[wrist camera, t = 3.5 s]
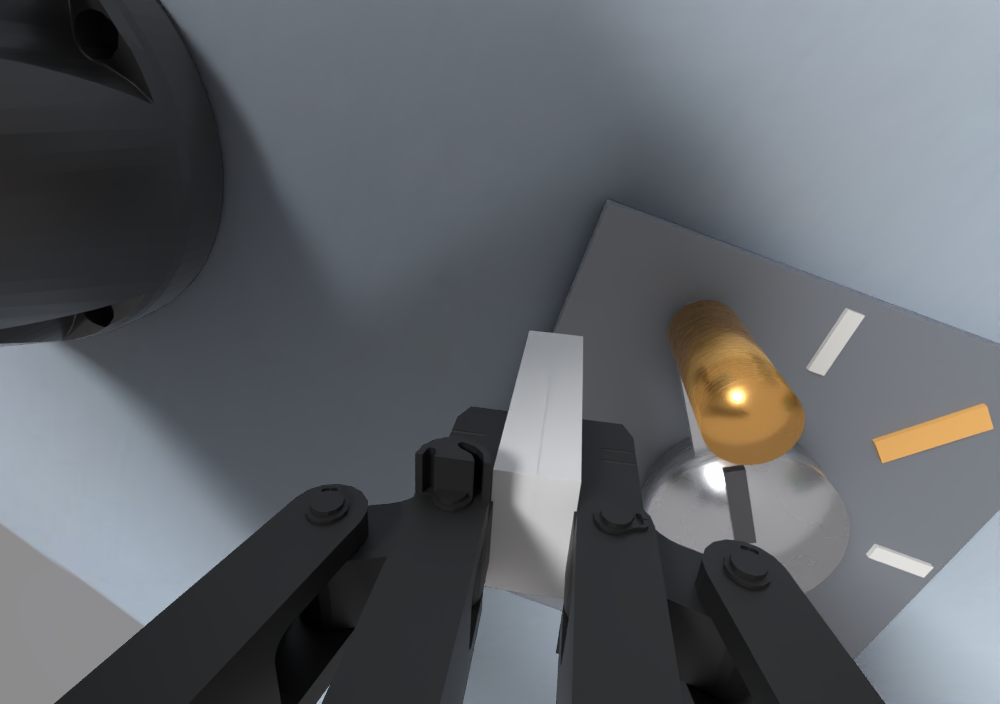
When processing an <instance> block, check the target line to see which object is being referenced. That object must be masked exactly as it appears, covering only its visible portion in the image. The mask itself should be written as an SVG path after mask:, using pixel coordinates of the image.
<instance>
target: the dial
mask: <svg viewBox="0 0 1000 704" xmlns="http://www.w3.org/2000/svg"><path fill="white" fill-rule="evenodd" d="M667 337H668V343H669V346H670V349H671V351H672V354H673V357H674V360H675V362H676V366H677V372H678V377H679V382H680V388H681V393H682V398H683V404H684V409H685V414H686V420H687V425H688V430H689V437H687V438H685V439H683V440H681V441H680V442H678V443H676V444H675V445H673V446H672V447H670V448H669V449H668V450H667V451H665V452H664V453H663V454H662V455H661V456H660V457H659V458H658V459H657V460H656V461H655V463H654V464H653V465H652V467H651V468H650V469H649V471H648V473H647V475H646V477H645V479H644V482H643V485H642V488H641V494H642V501H643V508H644V510H645V511H646V512H647V513H648V514H649V515H650V516H651V519H652V521H653V523H654V525H655V529H656V530H657V531H658V532H659V533H660V534H662V535H663V536H665V537H666V538H668V539H669V540H671V541H673V542H676V543H678V544H680V545H682V546H685V547H687V548H690V549H692V550H695V551H698V552H700V553H704V550H705V548H706V547H707V546H709V545H710V544H711V543H713V542H715V541H720V540H725V539H728V540H737V541H743V542H746V543H749V544H752V545H754V546H757V547H760V548H761V549H763V550H764V551H766V552H768V553H769V554H771V555H772V556H774V557H775V558H776V559H777V560H778V561H779V562H780V563H781V564H782V565H783V566H784V567H785V568H786V569H787V571H788V572H789V573H790V575H791V576H792V577H793V579H794V580H795V581H796V583H797V584H798V586H799V587H800V588H801V590H802V591H803V592H804V593H806V592H808V591H810V590H811V589H813V588H814V587H816V586H817V585H819V584H820V583H821V582H823V581H824V580H825V579H826V578H827V577H828V576H829V575H830V574H831V573H832V572H833V571H834V569H835V568H836V567H837V566H838V564H839V563H840V561H841V559H842V558H843V556H844V554H845V551H846V549H847V546H848V541H849V537H850V523H849V517H848V513H847V510H846V507H845V505H844V503H843V501H842V500H841V498H840V496H839V495H838V493H837V492H836V490H835V489H834V487H833V486H832V484H831V483H830V481H829V479H828V478H827V476H826V475H825V473H824V472H823V470H822V469H821V467H820V466H819V464H818V463H817V461H816V460H815V459H814V458H813V456H812V455H811V454H810V453H809V452H808V451H807V450H806V449H805V448H803V447H802V446H801V445H800V444H798V443H797V441H798V440H799V438H800V436H801V434H802V432H803V429H804V424H805V414H804V409H803V407H802V404H801V403H800V401H799V399H798V398H797V397H796V395H795V394H794V392H793V391H792V390H791V388H790V387H789V386H788V384H787V383H786V382H785V380H784V379H783V377H782V376H781V375H780V373H779V372H778V371H777V369H776V368H775V367H774V365H773V364H772V362H771V361H770V360H769V358H768V357H767V356H766V354H765V353H764V352H763V350H762V349H761V347H760V346H759V345H758V343H757V342H756V341H755V339H754V338H753V337H752V335H751V334H750V332H749V331H748V330H747V328H746V327H745V326H744V324H743V323H742V322H741V320H740V319H739V317H738V316H737V315H736V313H735V312H734V311H733V310H732V309H731V308H730V307H729V306H727V305H726V304H724V303H721V302H719V301H714V300H700V301H696V302H693V303H690V304H688V305H686V306H684V307H683V308H682V309H680V310H679V311H678V312H677V313H676V314H675V315H674V317H673V318H672V320H671V322H670V324H669V327H668V334H667Z"/></svg>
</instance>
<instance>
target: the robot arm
mask: <svg viewBox="0 0 1000 704" xmlns="http://www.w3.org/2000/svg"><path fill="white" fill-rule="evenodd" d="M222 197H223V169H222V157H221V150H220V143H219V138H218V133H217V128H216V124H215V120H214V116H213V113H212V109H211V106H210V103H209V100H208V97H207V94H206V91H205V88H204V86H203V83H202V81H201V78H200V76H199V73H198V71H197V69H196V67H195V65H194V62H193V60H192V58H191V56H190V54H189V52H188V50H187V48H186V47H185V45H184V43H183V41H182V39H181V37H180V36H179V34H178V32H177V31H176V29H175V27H174V26H173V24H172V23H171V21H170V19H169V18H168V17H167V15H166V14H165V12H164V11H163V9H162V8H161V6H160V5H159V3H158V2H157V1H156V0H0V347H1V346H12V345H22V344H33V343H43V342H54V341H64V340H73V339H81V338H86V337H91V336H95V335H99V334H102V333H106V332H109V331H112V330H115V329H117V328H119V327H122V326H124V325H126V324H128V323H130V322H132V321H135V320H137V319H139V318H141V317H143V316H145V315H147V314H149V313H151V312H154V311H156V310H157V309H159V308H161V307H163V306H165V305H166V304H168V303H169V302H171V301H172V300H174V299H175V298H176V297H177V296H178V295H180V294H181V293H182V292H183V291H184V290H185V289H186V288H187V287H188V286H189V285H190V284H191V282H192V281H193V280H194V279H195V277H196V276H197V275H198V273H199V271H200V270H201V268H202V267H203V265H204V263H205V261H206V259H207V257H208V255H209V253H210V251H211V248H212V246H213V243H214V240H215V237H216V234H217V230H218V225H219V221H220V215H221V208H222ZM582 388H583V336H576V335H567V334H558V333H549V332H540V331H531V330H529V334H528V338H527V342H526V345H525V349H524V353H523V357H522V361H521V365H520V368H519V372H518V376H517V380H516V384H515V388H514V392H513V395H512V399H511V403H510V407H509V411H502V410H494V409H486V408H478V407H470V408H469V409H467V410H466V411H465V412H463V413H462V414H461V415H459V416H458V418H457V420H456V422H455V425H454V427H453V430H452V432H451V434H450V437H446V438H441V439H436V440H433V441H431V442H429V443H427V444H425V445H423V446H422V447H421V448H420V449H419V450H418V451H417V452H416V453H415V495H414V497H413V498H411V499H408V500H405V501H402V502H397V503H391V504H381V505H369V506H368V500H367V499H366V497H365V496H364V495H363V493H362V492H361V491H359V490H357V489H355V488H353V487H352V486H346V485H340V484H333V485H322V486H319V487H316V488H313V489H310V490H307V491H306V492H304V493H303V494H301V495H299V496H298V497H296V498H295V499H294V500H293V501H291V502H290V503H289V504H288V505H287V506H286V507H284V508H283V509H282V510H281V511H280V512H279V513H277V514H276V515H275V516H274V517H273V518H272V519H270V520H269V521H268V522H267V523H266V524H264V525H263V526H262V527H261V528H260V529H259V530H257V531H256V532H255V533H254V534H253V535H252V536H250V537H249V538H248V539H247V540H246V541H245V542H243V543H242V544H241V545H240V546H239V547H237V548H236V549H235V550H234V551H233V552H232V553H230V554H229V555H228V556H227V557H226V558H225V559H223V560H222V561H221V562H220V563H219V564H218V565H216V566H215V567H214V568H213V569H212V570H210V571H209V572H208V573H207V574H206V575H205V576H203V577H202V578H201V579H200V580H199V581H198V582H196V583H195V584H194V585H193V586H192V587H190V588H189V589H188V590H187V591H186V592H185V593H183V594H182V595H181V596H180V597H179V598H178V599H176V600H175V601H174V602H173V603H172V604H171V605H169V606H168V607H167V608H166V609H165V610H163V611H162V612H161V613H160V614H159V615H158V616H156V617H155V618H154V619H153V620H152V621H151V622H149V623H148V624H147V625H146V626H145V627H144V628H142V629H141V630H140V631H139V632H138V633H136V634H135V635H134V636H133V637H132V638H131V639H129V640H128V641H127V642H126V643H125V644H124V645H122V646H121V647H120V648H119V649H118V650H117V651H115V652H114V653H113V654H112V655H111V656H110V657H109V658H107V659H106V660H105V661H104V662H103V663H101V664H100V665H99V666H98V667H97V668H95V669H94V670H93V671H92V672H91V673H90V674H88V675H87V676H86V677H85V678H84V679H82V681H80V682H79V683H78V684H77V685H76V686H74V687H73V688H72V689H71V690H70V691H68V692H67V693H66V694H65V695H64V696H63V697H61V698H60V699H59V700H58V701H57V702H56V703H54V704H316V703H317V702H318V700H319V699H320V697H321V696H322V695H323V693H324V692H325V691H326V689H327V688H328V686H329V685H330V686H329V688H328V691H327V693H326V695H325V697H324V700H323V702H322V704H462V703H463V699H464V694H465V689H466V684H467V679H468V674H469V669H470V665H471V660H472V655H473V650H474V645H475V640H476V636H477V631H478V626H479V621H480V616H481V611H482V597H483V588H484V584H485V587H489V588H496V589H502V590H508V591H514V592H520V593H526V594H533V595H539V596H545V597H551V598H557V599H564V604H563V610H562V617H561V624H560V630H559V637H558V643H557V650H556V653H557V654H559V660H558V679H557V697H556V704H885V703H884V701H883V700H882V699H881V697H880V696H879V695H878V693H877V692H876V690H875V689H874V688H873V686H872V685H871V684H870V682H869V681H868V680H867V678H866V677H865V675H864V674H863V673H862V671H861V670H860V669H859V667H858V666H857V665H856V663H855V662H854V660H853V659H852V658H851V656H850V655H849V654H848V652H847V651H846V650H845V648H844V647H843V645H842V644H841V643H840V641H839V640H838V639H837V637H836V636H835V635H834V633H833V632H832V630H831V629H830V628H829V626H828V625H827V624H826V622H825V621H824V620H823V618H822V617H821V615H820V614H819V613H818V611H817V610H816V609H815V607H814V606H813V605H812V603H811V602H810V601H809V599H808V598H807V596H806V595H805V594H804V592H803V591H802V590H801V588H800V587H799V586H798V584H797V583H796V581H795V580H794V579H793V577H792V576H791V575H790V573H789V572H788V571H787V569H786V568H785V567H784V566H783V565H782V564H781V563H780V562H779V561H778V560H777V559H776V558H775V557H774V556H772V555H771V554H769V553H768V552H766V551H764V550H763V549H761V548H760V547H757V546H754V545H752V544H749V543H746V542H743V541H737V540H728V539H725V540H720V541H715V542H713V543H711V544H710V545H709V546H707V547H706V548H705V550H704V553H700V552H698V551H695V550H692V549H690V548H687V547H685V546H682V545H680V544H678V543H676V542H673V541H671V540H669V539H668V538H666V537H665V536H663V535H662V534H660V533H659V532H658V531H657V530H656V529H655V525H654V523H653V521H652V519H651V516H650V515H649V514H648V513H647V512H646V511H645V510H644V508H643V501H642V494H641V488H640V481H639V474H638V467H637V460H636V455H635V446H634V439H633V437H632V435H631V434H630V433H629V432H628V431H627V429H626V428H625V427H624V426H623V424H616V423H608V422H601V421H593V420H585V419H582ZM485 579H486V581H485Z"/></svg>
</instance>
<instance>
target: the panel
mask: <svg viewBox="0 0 1000 704" xmlns="http://www.w3.org/2000/svg"><path fill="white" fill-rule="evenodd" d="M700 300H714V301H719V302H721V303H724V304H726V305H727V306H729V307H730V308H731V309H732V310H733V311H734V312H735V313H736V315H737V316H738V317H739V319H740V320H741V322H742V323H743V324H744V326H745V327H746V328H747V330H748V331H749V332H750V334H751V335H752V337H753V338H754V339H755V341H756V342H757V343H758V345H759V346H760V347H761V349H762V350H763V352H764V353H765V354H766V356H767V357H768V358H769V360H770V361H771V362H772V364H773V365H774V367H775V368H776V369H777V371H778V372H779V373H780V375H781V376H782V377H783V379H784V380H785V382H786V383H787V384H788V386H789V387H790V388H791V390H792V391H793V392H794V394H795V395H796V397H797V398H798V399H799V401H800V403H801V404H802V407H803V409H804V414H805V424H804V429H803V432H802V434H801V436H800V438H799V440H798V441H797V443H798V444H800V445H801V446H802V447H803V448H805V449H806V450H807V451H808V452H809V453H810V454H811V455H812V456H813V458H814V459H815V460H816V461H817V463H818V464H819V466H820V467H821V469H822V470H823V472H824V473H825V475H826V476H827V478H828V479H829V481H830V483H831V484H832V486H833V487H834V489H835V490H836V492H837V493H838V495H839V496H840V498H841V500H842V501H843V503H844V505H845V507H846V510H847V513H848V517H849V523H850V537H849V541H848V546H847V549H846V551H845V554H844V556H843V558H842V559H841V561H840V563H839V564H838V566H837V567H836V568H835V569H834V571H833V572H832V573H831V574H830V575H829V576H828V577H827V578H826V579H825V580H824V581H823V582H821V583H820V584H819V585H817V586H816V587H814V588H813V589H811V590H810V591H808V592H806V593H804V594H805V595H806V596H807V598H808V599H809V601H810V602H811V603H812V605H813V606H814V607H815V609H816V610H817V611H818V613H819V614H820V615H821V617H822V618H823V620H824V621H825V622H826V624H827V625H828V626H829V628H830V629H831V630H832V632H833V633H834V635H835V636H836V637H837V639H838V640H839V641H840V643H841V644H842V645H843V647H844V648H845V650H846V651H847V652H848V654H849V655H850V656H851V658H852V659H854V658H855V657H856V656H857V655H858V654H859V653H860V652H861V651H862V650H863V649H864V648H865V647H866V646H867V645H868V644H869V643H870V642H871V641H872V640H873V639H874V638H875V637H876V636H877V635H878V634H879V633H880V632H881V631H882V630H883V629H884V628H885V627H886V626H887V625H888V624H889V622H890V621H891V620H892V619H893V618H894V617H895V616H896V615H897V614H898V613H899V612H900V611H901V610H902V609H903V608H904V607H905V606H906V605H907V604H908V603H909V602H910V601H911V600H912V599H913V598H914V597H915V596H916V595H917V594H918V593H919V592H920V591H921V590H922V589H923V588H924V586H925V585H926V584H927V583H928V582H929V581H930V580H931V579H932V578H933V577H934V576H935V575H936V574H937V573H938V572H939V571H940V570H941V569H942V568H943V567H944V566H945V565H946V564H947V563H948V562H949V561H950V560H951V559H952V558H953V557H954V556H955V555H956V554H957V553H958V552H959V550H960V549H961V548H962V547H963V546H964V545H965V544H966V543H967V542H968V541H969V540H970V539H971V538H972V537H973V536H974V535H975V534H976V533H977V532H978V531H979V530H980V529H981V528H982V527H983V526H984V525H985V524H986V523H987V522H988V521H989V520H990V519H991V518H992V517H993V516H994V515H995V513H996V512H997V511H998V510H999V509H1000V344H998V343H995V342H993V341H990V340H987V339H985V338H982V337H979V336H977V335H974V334H971V333H968V332H966V331H963V330H960V329H958V328H955V327H952V326H949V325H947V324H944V323H941V322H939V321H936V320H933V319H931V318H928V317H925V316H922V315H920V314H917V313H914V312H912V311H909V310H906V309H904V308H901V307H898V306H895V305H893V304H890V303H887V302H885V301H882V300H879V299H876V298H874V297H871V296H868V295H866V294H863V293H860V292H858V291H855V290H852V289H849V288H847V287H844V286H841V285H839V284H836V283H833V282H830V281H828V280H825V279H822V278H820V277H817V276H814V275H812V274H809V273H806V272H803V271H801V270H798V269H795V268H793V267H790V266H787V265H785V264H782V263H779V262H776V261H774V260H771V259H768V258H766V257H763V256H760V255H757V254H755V253H752V252H749V251H747V250H744V249H741V248H739V247H736V246H733V245H730V244H728V243H725V242H722V241H720V240H717V239H714V238H712V237H709V236H706V235H703V234H701V233H698V232H695V231H693V230H690V229H687V228H684V227H682V226H679V225H676V224H674V223H671V222H668V221H666V220H663V219H660V218H657V217H655V216H652V215H649V214H647V213H644V212H641V211H638V210H636V209H633V208H630V207H628V206H625V205H622V204H620V203H617V202H614V201H611V200H609V199H607V200H606V203H605V205H604V207H603V210H602V212H601V215H600V217H599V220H598V222H597V224H596V227H595V229H594V232H593V234H592V237H591V239H590V241H589V244H588V246H587V249H586V251H585V254H584V256H583V258H582V261H581V263H580V266H579V268H578V271H577V273H576V275H575V278H574V280H573V283H572V285H571V288H570V290H569V292H568V295H567V297H566V300H565V302H564V305H563V307H562V309H561V312H560V314H559V317H558V319H557V322H556V324H555V326H554V329H553V331H552V333H558V334H567V335H576V336H583V388H582V419H585V420H593V421H601V422H608V423H616V424H623V426H624V427H625V428H626V429H627V431H628V432H629V433H630V434H631V435H632V437H633V439H634V446H635V455H636V460H637V467H638V474H639V481H640V488H642V485H643V482H644V479H645V477H646V475H647V473H648V471H649V469H650V468H651V467H652V465H653V464H654V463H655V461H656V460H657V459H658V458H659V457H660V456H661V455H662V454H663V453H664V452H665V451H667V450H668V449H669V448H670V447H672V446H673V445H675V444H676V443H678V442H680V441H681V440H683V439H685V438H687V437H689V430H688V425H687V420H686V414H685V409H684V404H683V398H682V393H681V388H680V382H679V377H678V372H677V366H676V362H675V360H674V357H673V354H672V351H671V349H670V346H669V343H668V337H667V334H668V327H669V324H670V322H671V320H672V318H673V317H674V315H675V314H676V313H677V312H678V311H679V310H680V309H682V308H683V307H684V306H686V305H688V304H690V303H693V302H696V301H700ZM485 581H486V579H485ZM505 591H508V590H505ZM508 592H511V593H513V594H516V595H519V596H522V597H524V598H527V599H530V600H533V601H536V602H538V603H541V604H544V605H547V606H549V607H552V608H555V609H558V610H560V611H562V610H563V604H564V599H557V598H551V597H545V596H539V595H533V594H526V593H520V592H514V591H508Z"/></svg>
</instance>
